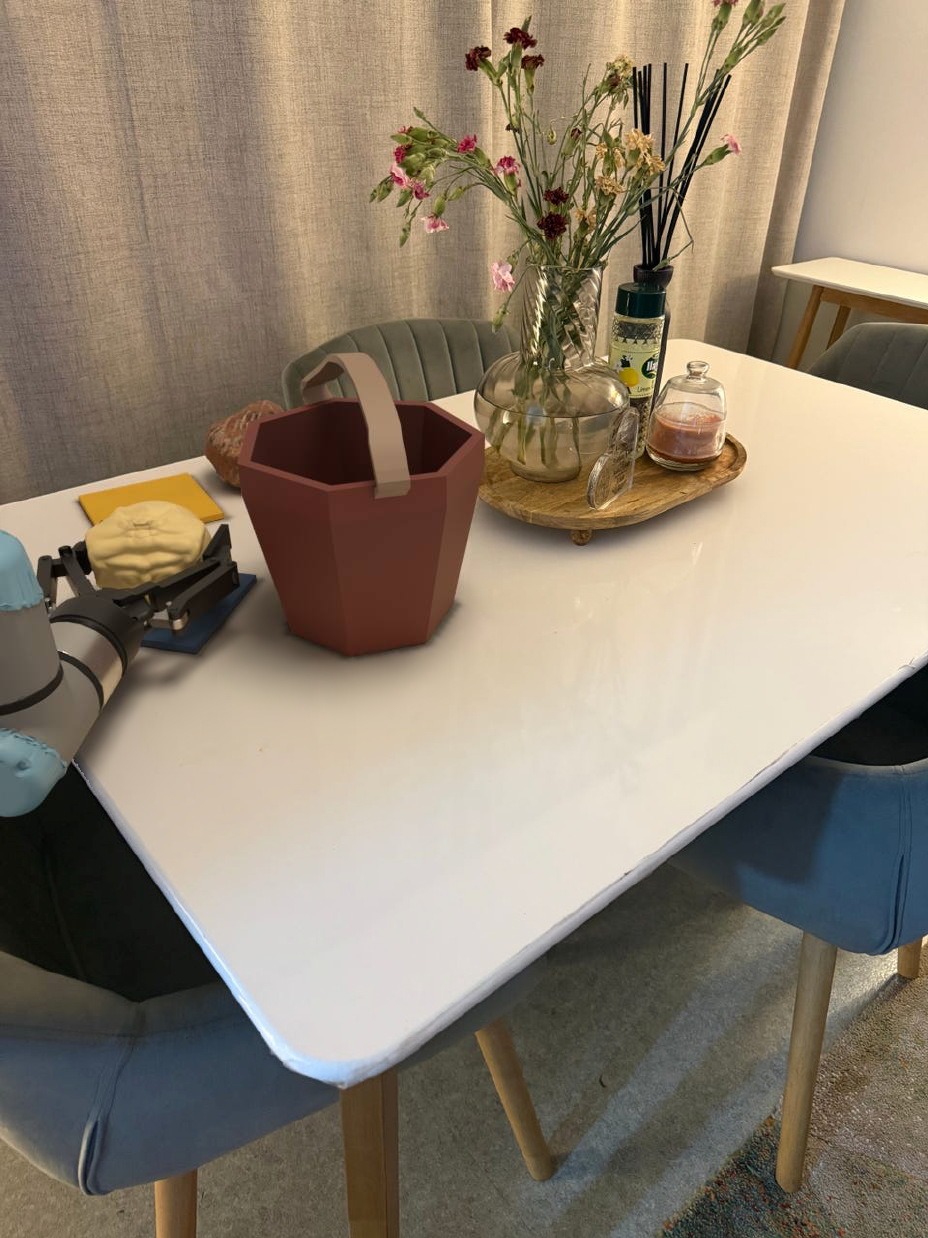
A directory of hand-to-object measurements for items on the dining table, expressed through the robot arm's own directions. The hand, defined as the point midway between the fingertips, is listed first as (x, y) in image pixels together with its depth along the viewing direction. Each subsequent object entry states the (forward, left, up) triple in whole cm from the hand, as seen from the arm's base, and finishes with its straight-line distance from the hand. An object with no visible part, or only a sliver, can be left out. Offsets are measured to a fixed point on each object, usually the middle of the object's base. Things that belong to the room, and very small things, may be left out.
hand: (167, 533), depth 91 cm
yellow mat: (-12, +16, -6) cm, 22 cm away
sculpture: (+1, -4, -6) cm, 7 cm away
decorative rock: (-3, +28, -7) cm, 29 cm away
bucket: (+22, +1, -7) cm, 23 cm away
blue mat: (+1, -4, -6) cm, 8 cm away
